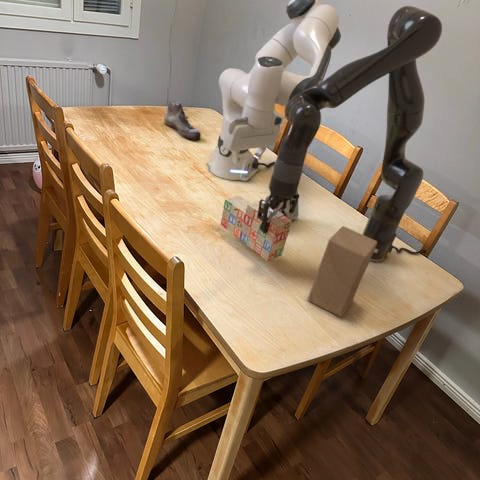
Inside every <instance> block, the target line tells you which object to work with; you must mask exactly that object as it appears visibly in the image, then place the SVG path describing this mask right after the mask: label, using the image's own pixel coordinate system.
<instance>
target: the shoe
mask: <svg viewBox="0 0 480 480" xmlns="http://www.w3.org/2000/svg"><path fill="white" fill-rule="evenodd" d="M185 111H188V109H187V108H184V107H183V105H182V102H176V101H174V102H171V100H168V104H167V107H166V109H165V114H164V118H163V119H164V120H163V121H164V124H165V125H166V126H169V127H171V128H172V129H174V130H176V131H177V133H178V135H180V136H181V137H182V138H185V139H187V140H190V141H195V142H196V141H199V140H201V135H202V134H201V131H199V130H198V129H197V128H196V127H194V126H193V125H191V123H190V122H189V117H188V116H187V115H186V114H185Z"/></svg>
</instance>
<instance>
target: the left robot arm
mask: <svg viewBox="0 0 480 480" xmlns="http://www.w3.org/2000/svg"><path fill="white" fill-rule="evenodd" d="M285 12H286V14H287V16H288V18H289V20H291V21H292V22H290V23H288V24H287V25H285V26H284V27H282V28H281V29H280V30H279V31H277V32H276V33H275V34H274V35H273V36H272V37H271V38H270V39H269V40H268V41H267V42H266V43H265V44H264V45H263V46H262V48H260V49H259V50H258V52H257V53H256V54H255V57H254V64H253V67H252V68H251V70H250V71H249V72H248V73H247V72H245V71H244V70H242V69H239V68H233V67H231V68H230V67H229V68H227V69H225V70H223V71H222V72H221V74H220V76H219V79H218V86H219V90H220V93H221V99H222V101H221V102H222V122H221V128H220V135H219V136H218V139H217V145H216V146H215V147H214V149H213V153H212V157H211V160H209V161H208V164H207V165H208V166H209V170H210V172H211V173H212V174H213V175H215V176H216V177H218V178H220V179H225V180H229V181H242V182H247V181H249V179H251V177H253V176H254V175H255V174H256V173H257V172H258V171H259V166H264V167H265V168H269V167H271V166H272V165H274V164H275V162H276V161H272V162H269V163H268V164H267V163H264V162H260V160H261V159H262V156H263V154H264V153H265V151H266V150H267V148H268V147H272V146H273V147H274V146H275V145H276V143H277V142H278V140H279V136H280V132H281V125H282V124H283V122H284V118H283V117H282V116H280V115H278V114H277V113H275V108H276V105H279V106H281V107H284V108H285V107H286V105H287V103H288V102H289V101H290V100H291V99H292V98H293V97H294V96H295V95H297V94H298V93H300V92H302V91H304V90H306V89H308V88H310V87H312V86H315V85H317V84H320V83H321V82H323V81H324V80H325V76H326V73H327V71H328V68H329V65H330V61H331V58H332V50H334V49H335V47H336V46H337V45H338V44H339V43H340V40H341V38H342V34H341V31H340V29H339V21H340V17H339V13H338V11H337V9H336V8H334V7H333V6H332V5H330V4H325V3H324V4H323V3H321V2H320V1H319V0H289V2H288V3H287V5H286V11H285ZM297 56H299V57H300V58H301V59H302V60H303V61H305V62H307V63H308V64H310V65H311V66H312V67H311V69H310V72H309V74H308V75H301V74H297V73H294V72H290V71H288V70H286V69H287V67H288V66H289V65H290V64H291V63H292V62H293V61H294V60H295V59H296V58H297ZM251 149H257V151H256V152H254V154H253V153H252V152H251V151H250V150H251Z"/></svg>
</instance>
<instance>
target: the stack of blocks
mask: <svg viewBox="0 0 480 480" xmlns="http://www.w3.org/2000/svg"><path fill="white" fill-rule="evenodd" d="M259 202H260V200H257V201H255V202H250V201H249V200H247V199H245V197H243V196H241V195H235V196H232V197H229V198H225V199H224V202H223V210H222V215H221V220H220V225H221V226H222V227H223V228H225V229H226V230H227V231H228V232H229V233H230V234H232V235H233V236H234V237H236V238H237V239H238V240H240V241H241V242H242V243H244V244H245V245H246V246H247V247H249V248H250V249H251V250H253V252H255V253H256V254H257V255H259V256H260V257H261V258H262V259H263V260H265V261H266V262H270V261H272V260H274V259H276V258H279V257H281V256H282V255H283V252H284V249H285V245H286V242H287V239H288V237H289V232H290V229H291V225H292V223H293V220H291V219H289V218H288V217H286V216H284V214H283V213H281V212H280V211H278V212H277V214H276V215H275V216H273V217H272V219H271V221H270V225H269V229H268V232H267V233H263V232H262V231H261V230H260V227H261V223H262V221H261V220H260V219H259V218H257V215H258V209H259ZM269 209H270V210H271V211H272V212H273V211H274V210H273V209H271V208H269ZM262 215H263V214H262ZM269 215H270V214H269V213H268V214H267V217H269Z"/></svg>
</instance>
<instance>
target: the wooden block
mask: <svg viewBox="0 0 480 480" xmlns="http://www.w3.org/2000/svg"><path fill="white" fill-rule="evenodd" d="M362 234H363V233H360V232H357V231H355V230H353V229H352V228H351V229H350V228H348V227H346V226H341V227H340V228H339V229H338V230H337V231H336V232H335V233H334V234H333V235H332V236H331V237H330V239H328V242H327V244H326V247H325V250H324V253H323V255H322V258H321V261H320V264H319V267H318V269H317V273H316V275H315V278H314V281H313V283H312V287H311V289H310V292H309V295H308V297H307V301H309V302H311V303H312V304H314V305H317V306H318V307H320V308H322V309H323V310H325V311H327V312H329V313H331V314H333V315H335V316H337V317H339V318H341V317H343V316H344V313H346V311H347V309H348V308H349V306H350V305H351V303H352V302H353V300H354V298H355V296H356V293H357V291H358V289H359V287H360V285H361V282H362V280H363V278H364V274H365V273H366V270H367V268H368V265H369V263H370V262H371V261H370V259H371V257H372V254H373V252H374V250H375V247H376V245H377V241H375V240H373V239H371V238H368V237H366V236H364V235H362Z"/></svg>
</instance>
